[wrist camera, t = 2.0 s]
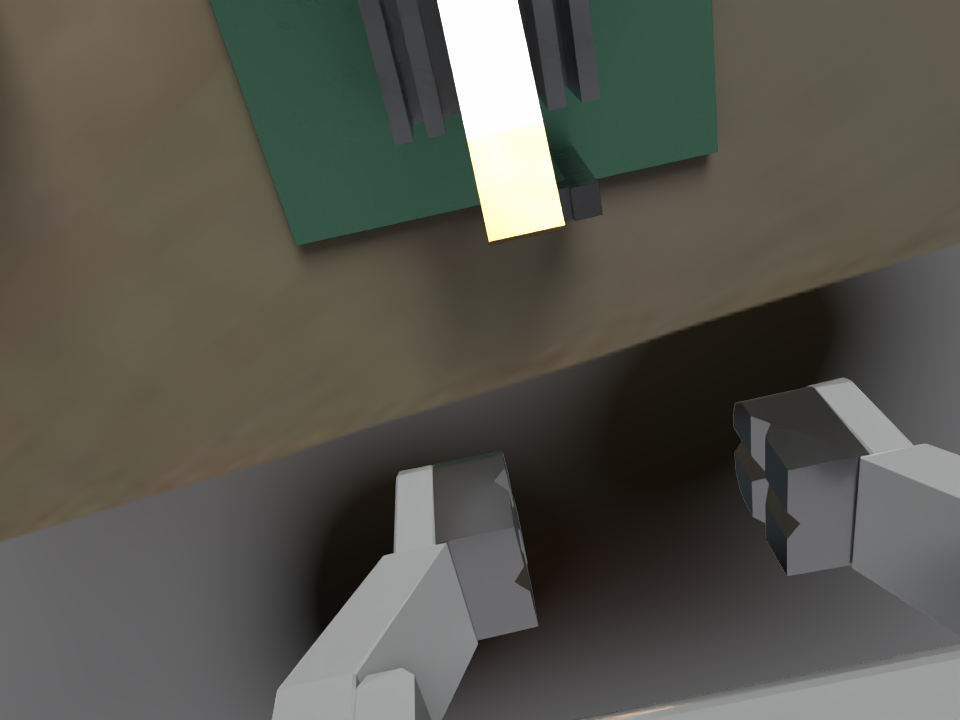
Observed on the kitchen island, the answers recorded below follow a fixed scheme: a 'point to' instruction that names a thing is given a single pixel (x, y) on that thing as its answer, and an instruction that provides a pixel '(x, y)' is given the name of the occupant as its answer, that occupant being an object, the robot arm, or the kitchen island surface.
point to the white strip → (501, 118)
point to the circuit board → (435, 106)
